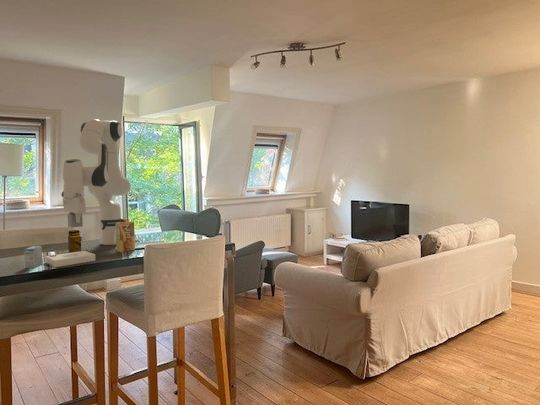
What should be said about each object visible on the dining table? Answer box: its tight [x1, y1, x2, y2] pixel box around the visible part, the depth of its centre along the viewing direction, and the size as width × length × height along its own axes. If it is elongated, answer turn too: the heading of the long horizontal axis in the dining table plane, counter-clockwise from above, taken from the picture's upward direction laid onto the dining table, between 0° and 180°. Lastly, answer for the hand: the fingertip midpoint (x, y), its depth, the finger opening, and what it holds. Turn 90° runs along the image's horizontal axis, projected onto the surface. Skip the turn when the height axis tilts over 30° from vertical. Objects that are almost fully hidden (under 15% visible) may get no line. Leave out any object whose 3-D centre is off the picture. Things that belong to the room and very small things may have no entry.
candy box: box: [115, 220, 136, 253], centre depth 227 cm, size 9×4×15 cm, turn 142°
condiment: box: [63, 229, 82, 254], centre depth 223 cm, size 7×8×12 cm
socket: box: [45, 250, 96, 268], centre depth 203 cm, size 18×14×3 cm
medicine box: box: [23, 245, 44, 269], centre depth 195 cm, size 8×4×9 cm, turn 5°
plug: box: [67, 213, 84, 228], centre depth 204 cm, size 5×5×6 cm
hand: (75, 222), depth 204 cm, fingers closed on plug, 5 cm apart
